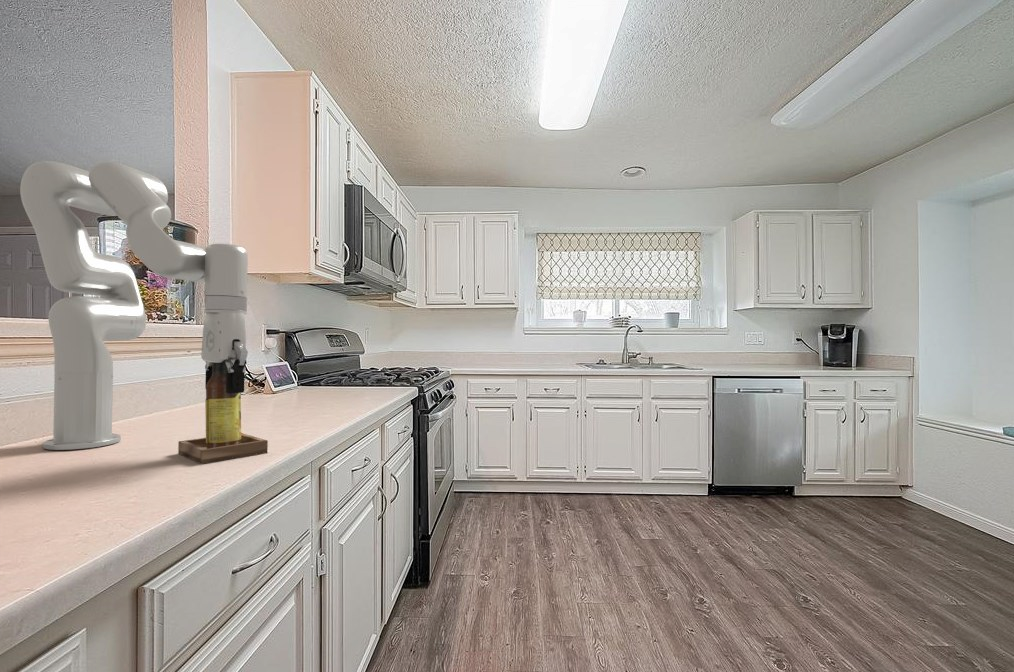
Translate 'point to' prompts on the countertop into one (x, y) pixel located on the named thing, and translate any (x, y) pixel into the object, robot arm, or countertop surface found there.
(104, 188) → the robot arm
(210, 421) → the sauce bottle
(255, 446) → the tray
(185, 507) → the countertop surface
